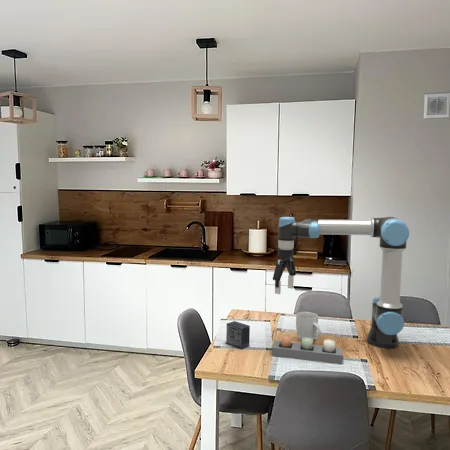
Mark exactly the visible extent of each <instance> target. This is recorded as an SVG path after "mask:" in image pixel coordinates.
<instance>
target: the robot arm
mask: <svg viewBox="0 0 450 450" xmlns="http://www.w3.org/2000/svg"><path fill="white" fill-rule="evenodd" d="M320 235H332V236H333V235H335V236H336V235H339V236H340V235H341V236H345V235H346V236H370V238H378V239H379V248H380V249H381V250H382V256H381V257H382V258H381V259H382V260H381V276H380V278H381V279H380V297H374V298H373V299H372V303H371V305H372V307H371V308H372V309H371V326H370V327H369V331H368V333H367V336H366V341H367V343H368V344H370V345H372V346H374V347H377V348H382V349H395V348H397V347H398V346H399V342H400V341H399V337H398V334H399V333H400V332H401V331H403V329H404V327H405V321H404V320H405V319H404V317H403V311H404V309H403V308H404V305H403V304H402V303H401V282H402V267H403V264H402V263H403V252H404V251H405V250H406V249H407V241H408V239H409V236H410V229H409V226H408V225H407V224H406V223H405V222H404V221H403V220H402V219H399V218H397V217H393V216H384V217H372V218H370V219H311V218H306V219H304V220H302V221H296V220H295V217H294V216H293V217H292V216H282V217H280V218H279V220H278V239H277V243H278V244H277V245H278V246H277V247H278V249H277V256H278V257H279V258H280V259H276V262H275V263H276V264H275V269H274V272H273V276H272V281H274V294H276V295H281V293H282V292H281V290H282V287H281V285H282V280H281V279H282V276H283V273H284V271H285V270H287V272H288V275H287V289H292V290H293V289H294V277H295V276H297V268H296V264H295V257H294V248H295V247H294V246H295V238H305V239H307V238H308V239H317V238H319V237H320Z"/></svg>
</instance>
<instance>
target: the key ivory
mask: <svg viewBox="0 0 450 450" xmlns="http://www.w3.org/2000/svg"><path fill="white" fill-rule="evenodd" d="M323 346H324V351H327V352H334V351H335V347H336V341H335V340H333V339H328V338H327V339H324V340H323Z"/></svg>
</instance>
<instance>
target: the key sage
mask: <svg viewBox="0 0 450 450" xmlns="http://www.w3.org/2000/svg"><path fill="white" fill-rule="evenodd" d="M301 343H302V348H303V349H312V348H313V345H314V339H312V338H310V337H303V338H302V341H301Z"/></svg>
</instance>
